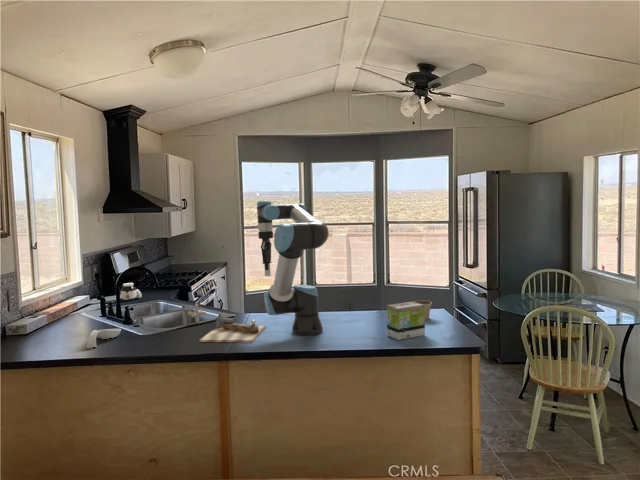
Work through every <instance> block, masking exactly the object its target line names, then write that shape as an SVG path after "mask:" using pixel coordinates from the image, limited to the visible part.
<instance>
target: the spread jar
mask: <svg viewBox="0 0 640 480" xmlns="http://www.w3.org/2000/svg"><path fill="white" fill-rule="evenodd" d="M142 295H143V294H142V292H141V291H140V290H139V289H138V288H136V286H134V283H133V282H127V283H123V284H122V287H121V289H120V299H122V301H124V302H130V301H134V300H136V298H137V299H140V298H142Z"/></svg>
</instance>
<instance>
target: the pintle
mask: <svg viewBox="0 0 640 480" xmlns="http://www.w3.org/2000/svg"><path fill="white" fill-rule="evenodd" d="M250 325H252V326H255V325H256V320H255V319H253V320H251V324H250Z"/></svg>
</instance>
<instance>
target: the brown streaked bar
mask: <svg viewBox="0 0 640 480" xmlns="http://www.w3.org/2000/svg"><path fill="white" fill-rule="evenodd" d="M221 325H222V328H225V329H231V330H238V331H245V332H249V333H257V332H259V328H258V326H259V325H256V324H255V326H252V324H245V323H238V322H232V323H228V322H223V323H221Z"/></svg>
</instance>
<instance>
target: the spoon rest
mask: <svg viewBox="0 0 640 480" xmlns="http://www.w3.org/2000/svg"><path fill="white" fill-rule="evenodd" d="M121 332H122V329H121V328H106V329H99V330H97V329H94V330H92V331H91V333H90V334H89V336H88V338H87V341H86V348H87V349H94V348H93V347H97V337H99V339H101V340H103V339H107V340H110V339H109V338H112V339H115V338H116V337H118V336H119V335H120V333H121ZM114 337H115V338H114Z"/></svg>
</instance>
